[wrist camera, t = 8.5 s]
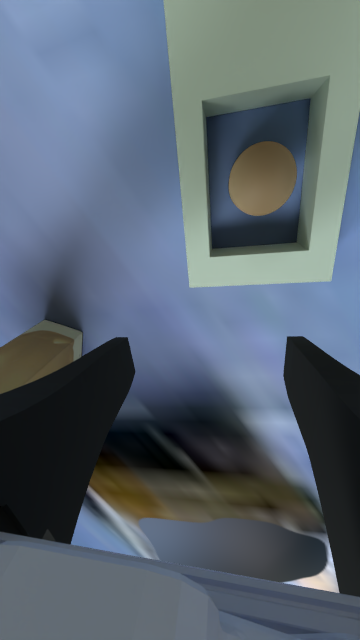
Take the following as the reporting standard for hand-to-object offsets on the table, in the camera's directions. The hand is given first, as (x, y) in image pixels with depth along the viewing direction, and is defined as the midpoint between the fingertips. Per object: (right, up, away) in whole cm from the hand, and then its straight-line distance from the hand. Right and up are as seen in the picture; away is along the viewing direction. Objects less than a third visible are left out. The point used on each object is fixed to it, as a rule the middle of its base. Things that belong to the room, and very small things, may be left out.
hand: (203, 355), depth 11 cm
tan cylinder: (+4, +11, +5) cm, 13 cm away
